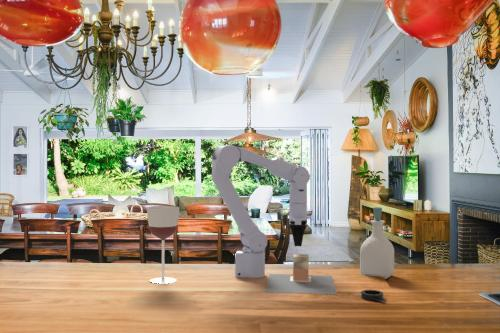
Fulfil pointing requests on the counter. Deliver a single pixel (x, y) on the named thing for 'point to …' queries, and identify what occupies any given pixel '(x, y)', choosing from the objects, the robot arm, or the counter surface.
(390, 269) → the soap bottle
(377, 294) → the duct tape
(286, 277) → the board
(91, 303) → the counter surface
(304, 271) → the base block
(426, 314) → the counter surface
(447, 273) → the counter surface
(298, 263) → the top block
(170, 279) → the wineglass
